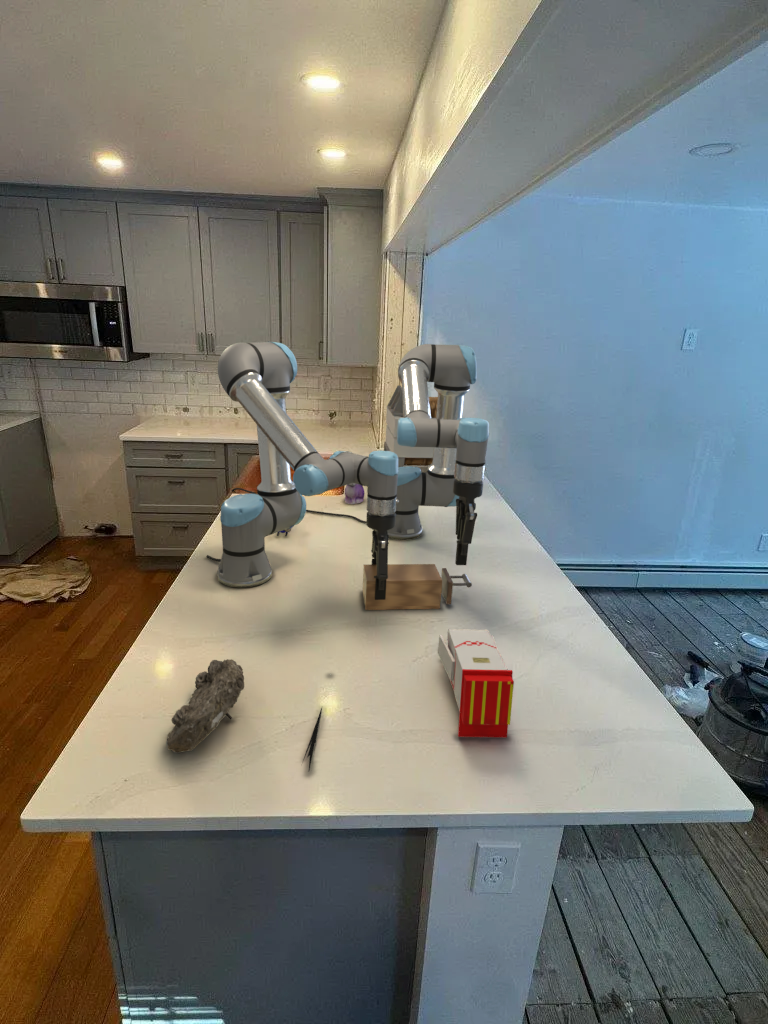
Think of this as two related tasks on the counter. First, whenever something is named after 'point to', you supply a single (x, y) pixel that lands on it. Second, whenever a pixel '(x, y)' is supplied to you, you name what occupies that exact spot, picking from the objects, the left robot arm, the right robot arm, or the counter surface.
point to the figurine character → (284, 531)
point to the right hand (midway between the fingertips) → (460, 564)
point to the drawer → (451, 584)
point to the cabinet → (404, 587)
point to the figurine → (354, 493)
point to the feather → (313, 740)
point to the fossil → (206, 705)
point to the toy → (478, 682)
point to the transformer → (393, 414)
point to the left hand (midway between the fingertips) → (378, 589)
